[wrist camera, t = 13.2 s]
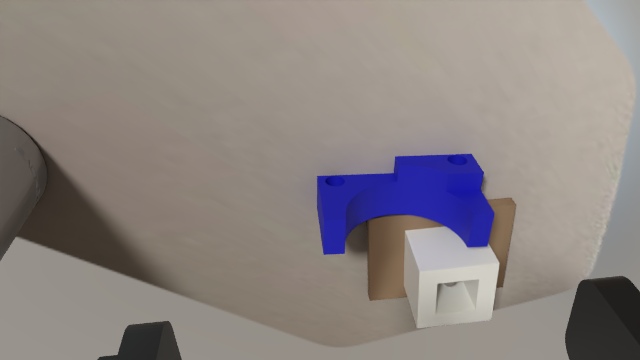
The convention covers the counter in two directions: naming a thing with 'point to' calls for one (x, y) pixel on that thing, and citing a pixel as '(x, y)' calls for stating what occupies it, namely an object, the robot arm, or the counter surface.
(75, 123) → the counter surface
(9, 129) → the robot arm
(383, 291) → the pin base
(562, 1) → the counter surface
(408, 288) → the white hollow square block
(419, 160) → the blue curved saddle bracket
